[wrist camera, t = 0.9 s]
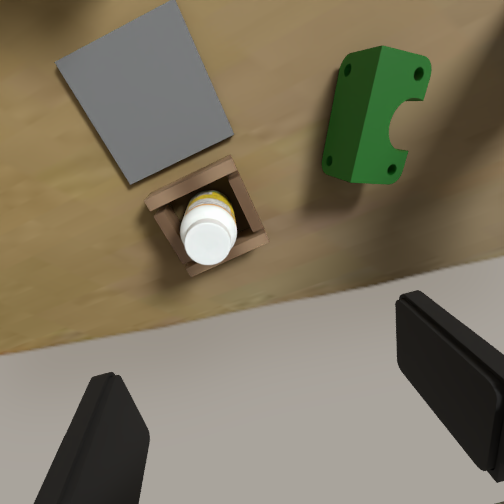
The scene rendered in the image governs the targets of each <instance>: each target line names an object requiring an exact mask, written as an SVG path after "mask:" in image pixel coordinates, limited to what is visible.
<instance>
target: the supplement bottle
mask: <svg viewBox="0 0 504 504" xmlns="http://www.w3.org/2000/svg"><path fill="white" fill-rule="evenodd" d="M180 235H181V240H182V242H183V244H184V246H185V250H186V252H187V254H188V256H189V257H190V258H191V259H192V260H194V261H195V262H197V263H199V264H203V265H214V264H217V263H219V262H221V261H222V260H224V259H225V258H226V257H227V255H228V254H229V251H230V250H231V248H232V247H233V245H234V243H235V241H236V237H237V227H236V220H235V214H234V209H233V206H232V203H231V201H230V200H229V199H228V197H227V196H225V195H224V194H223V193H221V192H218V191H215V190H205V191H201V192H199V193H197V194H196V195H194V196H193V197H192V198H191V200H190V201H189V203H188V206H187V209H186V212H185V215H184V218H183V220H182V223H181V227H180Z"/></svg>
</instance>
